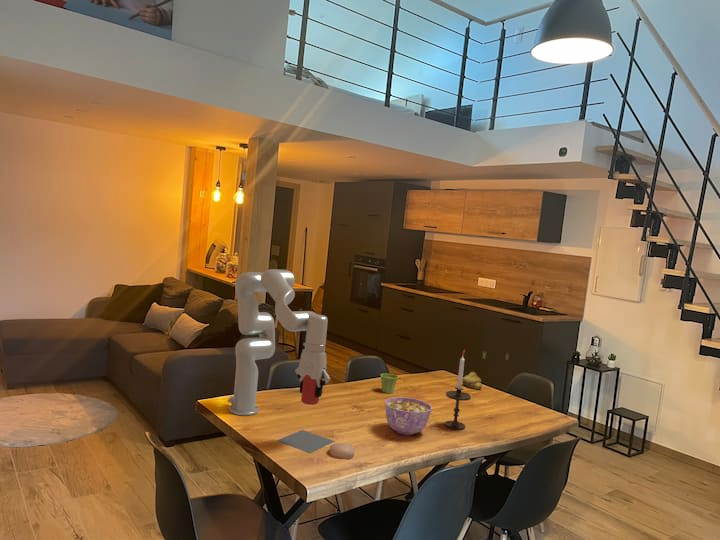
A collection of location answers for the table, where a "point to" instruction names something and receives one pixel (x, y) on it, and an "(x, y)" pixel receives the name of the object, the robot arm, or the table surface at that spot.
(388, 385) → the plant pot
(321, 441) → the slate mat
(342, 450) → the pinkish beige domed disc
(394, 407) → the bowl of food
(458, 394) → the candlestick
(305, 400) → the beer can
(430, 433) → the table surface
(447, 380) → the table surface
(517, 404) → the table surface
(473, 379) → the lumpy yellow-green gourd
